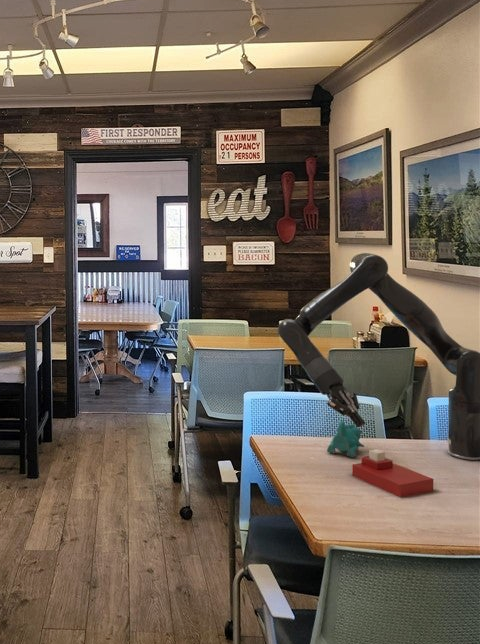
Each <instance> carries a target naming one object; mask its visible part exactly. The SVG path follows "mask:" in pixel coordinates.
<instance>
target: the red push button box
mask: <svg viewBox="0 0 480 644" xmlns="http://www.w3.org/2000/svg"><path fill="white" fill-rule="evenodd" d="M360 459H361V462H360V463H359V462H358V463H353V464H352V466H351V468H352V471H351V472H352V473H351V475H352V477H353V478H356V479H358V480H360V481H363V482H365V483H368V484H370V485H372V486H374V487H376V488H378V489H381V490H384V491H386V492H387V493H390V494H392V495H394V496H397V497H399V498H404V497H408V496H409V497H410V496H414V495H419V494H425V493H429V492H434V478H433V477H429V476H427V475H424V474H422V473H419V472H417V471H414V470H412V469H409V468H407V467H404V466H402V465H399V464H397V463H394V461H393V460H391V459H389V458H386V457H385V460H384V461H378V462H377V461H375V460H372V459H370V458H369V455H365V456H361V457H360Z"/></svg>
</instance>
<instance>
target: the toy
mask: <svg viewBox="0 0 480 644" xmlns="http://www.w3.org/2000/svg"><path fill="white" fill-rule="evenodd" d="M361 435H362V430H359V427H357V426H356V425H355V424H354V423H350V424H345V421H344V420H341V421H339V424H338V427H337V432H336V434H335V435H334V436H333V437H332V440H331V441H330V442H329V445H328V447H327V449H326V452H327V453H329V454H330V455H333V454H334V455H335V454H336V450H338V451H340V452H343V453H346V456H347V457H350V459H353V458H356V457H357V455H356V452H357V451H358V450H359V448H360V447H362V448H365V445H364V444H363V443H361V442H360V439H361Z"/></svg>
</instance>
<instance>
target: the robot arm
mask: <svg viewBox="0 0 480 644" xmlns="http://www.w3.org/2000/svg"><path fill="white" fill-rule="evenodd" d="M349 270H350V274H349V275H348V276H347V277H345V278H344V279H343V280H341V281H340V282H338V283H337V284H335V285H334V286H332V287H329V288H328V289H326V290H324V291H323V292H321V293H319V294H318V295H317V296H315V297H314V298H313V299H312V300H310V301H309V302H308V303H306V305H304V306H303V307H302V308H301V309H300V311H299V314H298V316H296V318H295V319H292V318H286V319H283V320H281V321H280V322H279V324H278V326H277V333H278V335H279V337H280V339H281V340H282V342H283V343H285V344H286V346H287V347H288V348H289V349H290V350H291V352H292V353H293V354H294V356H295V358H296V359H297V361H298V363H299V364H300V366H302V368H303V369H304V371H305V373H306V374H307V376H308V377H309V379H310V380H311V381H312V383H313V384H314V385H315V387H316V388H317V390H318V391H319V392H320V394H321V395H323V396H326V397H327V398H328V401H327V402H326V405H327V406H328V407H329V408H330V409H333V410H334V411H335V412H337V413H339V414H340V415H341V416H343V417H345V416H346V417H347V418H349V419H350V420H351V421H352V422H353V425H354V426H355V427H356V428H361V427H363V426H364V425H365V424H366V422H365V420H364V418H362V417H361V415H360V414H359V412H358V411H359V410H360V409H361V408H360V404H359V400H358V395H357V394H356V393H354V392H353V393H350V392H349V391H348V390H347V388H345V386H343V384H344V379H343V378H342V377H341V375H340V374H339V372H338V371H337V370H336V369H335V367H334V366H333V364H331V362H330V361H329V360H328V359H327V358H326V357H325V356H324V354H323V353H322V351H320V349H319V348H318V347H317V346H316V345H315V344H314V343H313V342H312V341H311V339H310V337H309V336H310V334H312V332H313V331H314V330H315V329H316V328H317V327H318V326H319V325H320V324H322V323H323V322H324V321H325V320H327V319H328V318H329V317H330V316H331V315H333V314H334V313H335V312H336V311H338V310H339V309H340V308H341V307H342V306H344V305H345V304H346V303H348V302H349V301H350V300H352V299H354V298H355V297H356V296H358V295H360V294H361V293H363V292H364V291H366V290H367V289H369V291H371V292H372V293H373V294H374V295H376V296H377V297H378V299H379V300H380V301H381V302H382V303H383V304H384V306H385V307H386V308H387V309H388V310H389V311H390V312H391V313H392V315H394V316H395V318H396V319H397V320H398V321H400V323H401V324H403V326H405V328H406V329H407V330H408V331H410V333H412V334H413V336H415V337H416V338H417V339H418V340H419V341H421V343H423V344H424V345H425V346H426V347H427V348H428V349H429V350H430V351H431V352H432V354H434V355H435V357H436V358H437V359H438V360H439V362H440V363H441V364H442V365H443V367H444V368H445V369H446V370H447V371H448V372H449V373H451V374H452V375H454V376H455V385H454V387H451V388H450V389H449V390H448V437H447V439H446V440H447V443H448V450H447V454H449V455H450V456H452V457H454V458H458V459H461V460H466V461H467V460H468V461H480V352H479V351H478V350H474V349H471V348H467V347H464V346H463V345H461V344H459V343H458V342H457V341H456V340H455V339H453V337H451V336H450V335H449V333H447V331H446V330H445V329H444V327H443V324H442V323H441V321H440V319H439V317H438V315H437V314H436V312H435V311H433V310H432V308H431V307H430V306H428V304H426V302H424V301H423V299H422V298H421V297H419V296H418V295H416V294H415V293H414V292H412V291H411V290H409V289H408V288H406V287H405V286H403V285H402V284H400V283H399V282H398V281H396V280H395V279H394V278H393V277H392V276H391V274H389V273H388V272H389V264H388V262H387V260H386V259H385V258H384V257H382V256H380V255H378V254H375V253H369V252H368V253H367V252H362V253H358V254H355V255H354V256H353V257H352V258H351V260H350V263H349Z"/></svg>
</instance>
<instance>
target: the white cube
mask: <svg viewBox="0 0 480 644" xmlns="http://www.w3.org/2000/svg"><path fill="white" fill-rule="evenodd" d="M368 452H369V453H368V456H369V458H370V459H372V460H375V461H377V462H378V461H384V460H385V458H386V456H385V455H386V453H385V451H383V450H380V449H377V448H375V449H369V451H368Z"/></svg>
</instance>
